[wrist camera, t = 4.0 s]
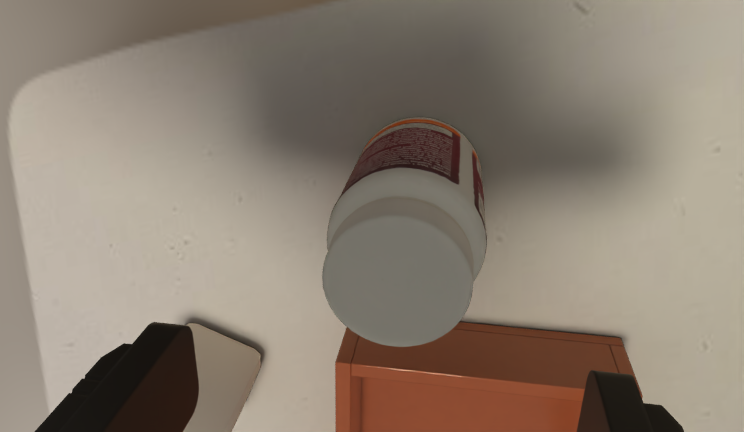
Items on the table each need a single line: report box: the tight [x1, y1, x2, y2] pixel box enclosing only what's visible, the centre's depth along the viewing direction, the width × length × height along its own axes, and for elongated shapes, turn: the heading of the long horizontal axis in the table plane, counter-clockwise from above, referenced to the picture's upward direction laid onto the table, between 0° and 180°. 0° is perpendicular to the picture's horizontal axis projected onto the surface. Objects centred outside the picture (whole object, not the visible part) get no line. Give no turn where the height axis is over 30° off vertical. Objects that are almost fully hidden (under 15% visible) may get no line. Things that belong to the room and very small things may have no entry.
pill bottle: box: [322, 117, 487, 347], centre depth 20 cm, size 5×5×8 cm
